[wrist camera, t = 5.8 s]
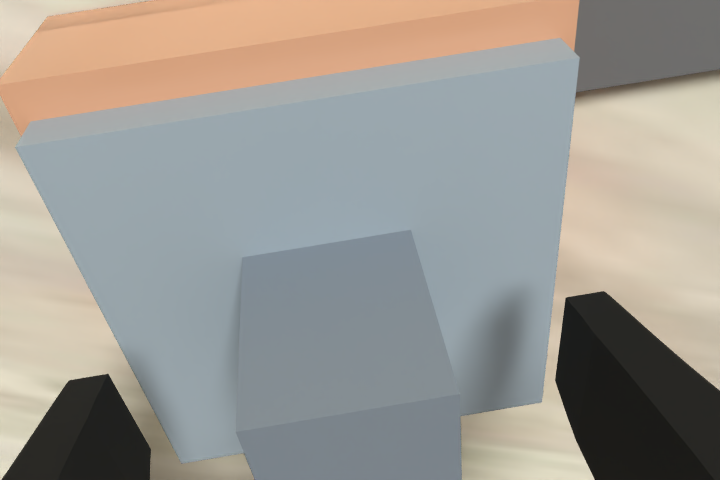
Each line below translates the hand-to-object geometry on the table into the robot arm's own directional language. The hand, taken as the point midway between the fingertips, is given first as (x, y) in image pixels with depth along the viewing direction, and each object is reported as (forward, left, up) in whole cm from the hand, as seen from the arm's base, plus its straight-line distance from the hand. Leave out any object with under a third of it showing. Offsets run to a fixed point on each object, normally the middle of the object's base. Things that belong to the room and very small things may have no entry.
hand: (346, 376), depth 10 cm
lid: (0, 0, -3) cm, 3 cm away
